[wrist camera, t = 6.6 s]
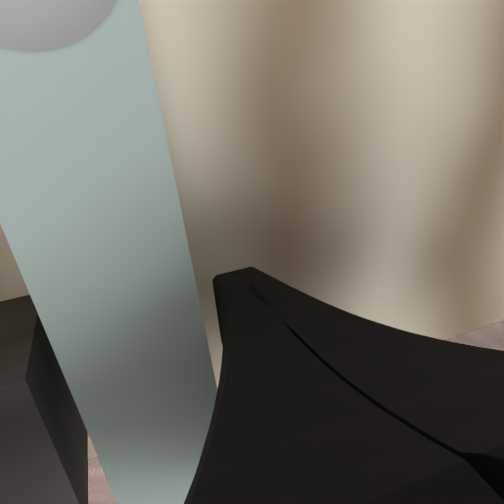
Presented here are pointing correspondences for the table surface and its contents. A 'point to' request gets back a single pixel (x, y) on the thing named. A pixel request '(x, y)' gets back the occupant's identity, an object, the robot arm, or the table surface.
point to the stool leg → (104, 237)
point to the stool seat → (300, 185)
